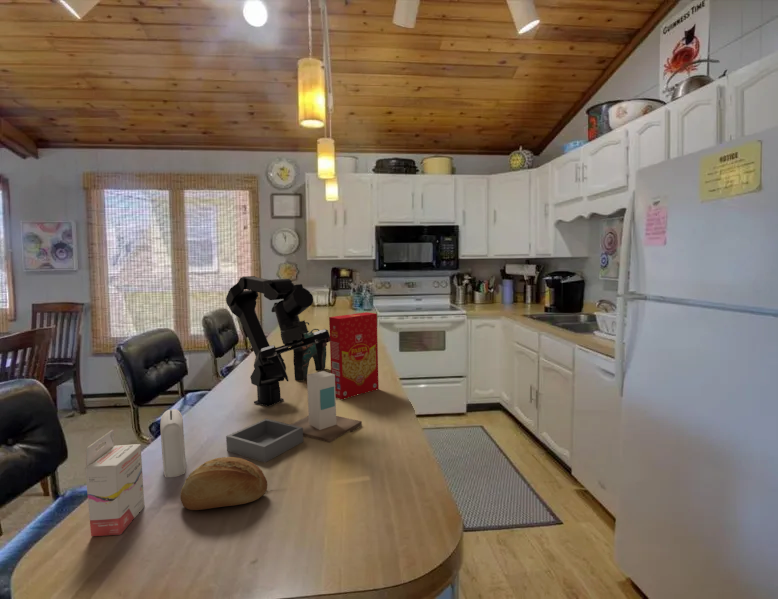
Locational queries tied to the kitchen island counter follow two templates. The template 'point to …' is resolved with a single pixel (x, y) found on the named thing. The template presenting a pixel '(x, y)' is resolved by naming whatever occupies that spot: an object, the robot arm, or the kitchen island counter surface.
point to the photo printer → (173, 443)
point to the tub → (264, 440)
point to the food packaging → (354, 353)
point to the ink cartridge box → (113, 485)
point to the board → (328, 428)
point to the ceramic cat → (306, 358)
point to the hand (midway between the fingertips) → (304, 375)
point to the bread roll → (223, 484)
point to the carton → (321, 399)
